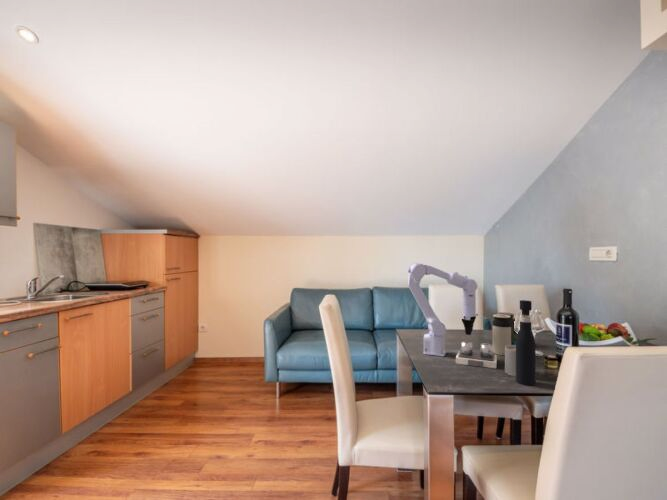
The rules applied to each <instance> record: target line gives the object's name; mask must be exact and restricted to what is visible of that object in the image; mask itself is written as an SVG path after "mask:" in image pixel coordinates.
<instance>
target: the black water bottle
mask: <svg viewBox="0 0 667 500" xmlns="http://www.w3.org/2000/svg"><path fill="white" fill-rule="evenodd" d="M532 303H533V301H532V300H526V299H525V300H524V299H522V300H519V310H520V311H521V316H520V321H519V332H518V335H517V339H516V377H515V382H516V383H517V384H519V385H523V386H527V387H528V386H530V387H531V386H535V385H536V382H537V380H536V379H537V377H536V375H537V374H536V365H537V363H536V360H537V358H536V356H537V355H536V348H537V347H536V341H535V337H534V336H535V335H534V334H533V331H532V320H531V319H532V318H531V316H530V311H532V310H533V309H532V307H533V305H532Z"/></svg>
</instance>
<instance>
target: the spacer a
mask: <svg viewBox="0 0 667 500" xmlns="http://www.w3.org/2000/svg"><path fill="white" fill-rule="evenodd" d="M473 346H474V343H473V342H471V341H467V340H466V341H460V351H461V354H462V355H467V356H471V355H473V352H474V351H473Z"/></svg>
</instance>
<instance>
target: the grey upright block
mask: <svg viewBox="0 0 667 500" xmlns="http://www.w3.org/2000/svg"><path fill="white" fill-rule="evenodd" d="M504 373H505V374H507V375H509V376H512V377H515V378H516V345H507V346H505V355H504Z"/></svg>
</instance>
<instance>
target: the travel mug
mask: <svg viewBox="0 0 667 500" xmlns="http://www.w3.org/2000/svg"><path fill="white" fill-rule="evenodd" d="M492 316H493V320H492V345H493V354H494V355H497V356H505V346H507V345H511V322H510V316H509V315H502V314H498V313H497V314H493V315H492Z"/></svg>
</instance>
